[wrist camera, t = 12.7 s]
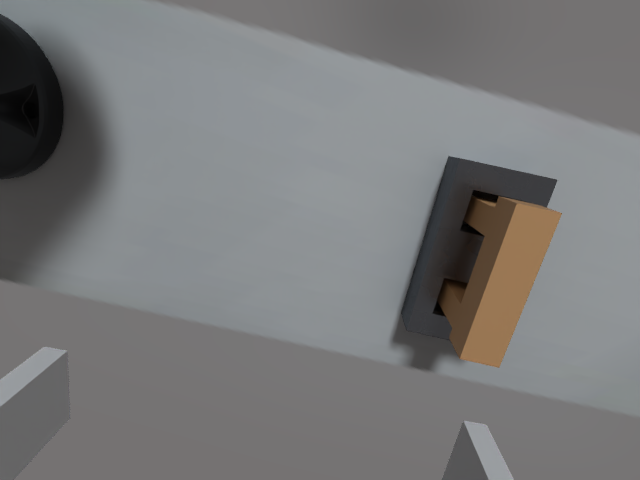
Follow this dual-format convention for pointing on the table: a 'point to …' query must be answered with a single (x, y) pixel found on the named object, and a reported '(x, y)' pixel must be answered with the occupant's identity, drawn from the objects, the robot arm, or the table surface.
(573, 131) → the table surface
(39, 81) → the robot arm
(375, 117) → the table surface
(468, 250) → the slotted gray block
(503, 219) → the notched wooden block
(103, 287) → the table surface
